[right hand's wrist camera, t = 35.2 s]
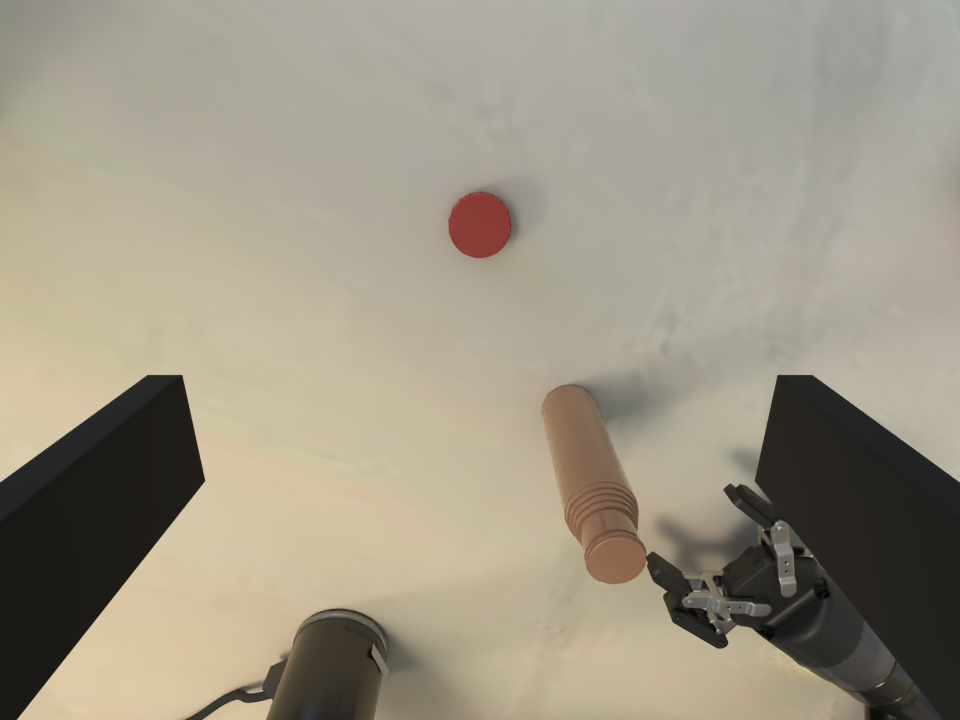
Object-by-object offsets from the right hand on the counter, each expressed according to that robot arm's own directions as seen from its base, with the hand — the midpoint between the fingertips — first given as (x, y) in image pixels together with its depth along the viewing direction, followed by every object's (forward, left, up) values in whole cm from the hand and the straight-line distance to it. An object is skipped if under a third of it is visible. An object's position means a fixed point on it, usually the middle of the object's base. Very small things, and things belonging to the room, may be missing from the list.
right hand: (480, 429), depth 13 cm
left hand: (+10, -26, -25) cm, 38 cm away
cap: (0, 0, -30) cm, 30 cm away
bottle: (+3, -17, -31) cm, 36 cm away
